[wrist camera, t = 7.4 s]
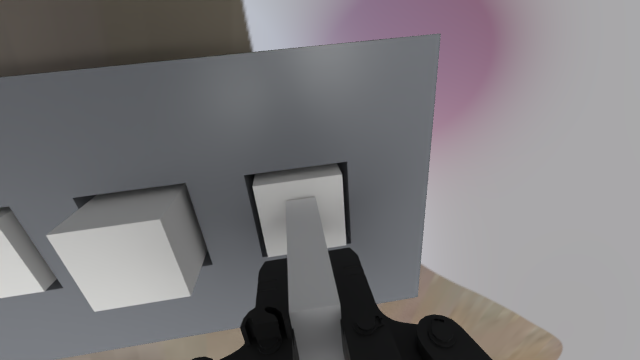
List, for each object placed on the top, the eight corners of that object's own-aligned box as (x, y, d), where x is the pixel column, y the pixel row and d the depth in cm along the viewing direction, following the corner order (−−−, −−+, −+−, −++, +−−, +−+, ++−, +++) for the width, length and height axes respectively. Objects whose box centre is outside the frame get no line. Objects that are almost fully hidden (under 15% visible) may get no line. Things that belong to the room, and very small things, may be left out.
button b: (106, 187, 15) (45, 235, 11) (190, 176, 15) (159, 219, 11) (137, 251, 17) (94, 311, 13) (211, 240, 17) (190, 296, 13)
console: (-167, 93, 14) (-370, 114, 10) (397, 37, 17) (440, 33, 12) (12, 312, 21) (-59, 382, 17) (391, 252, 24) (417, 299, 19)
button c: (258, 155, 17) (252, 186, 13) (328, 146, 18) (342, 174, 14) (270, 215, 19) (267, 257, 15) (333, 206, 20) (346, 245, 16)
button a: (-20, 190, 16) (-114, 235, 12) (61, 180, 16) (-6, 220, 13) (22, 250, 18) (-47, 305, 14) (94, 240, 18) (44, 291, 15)
